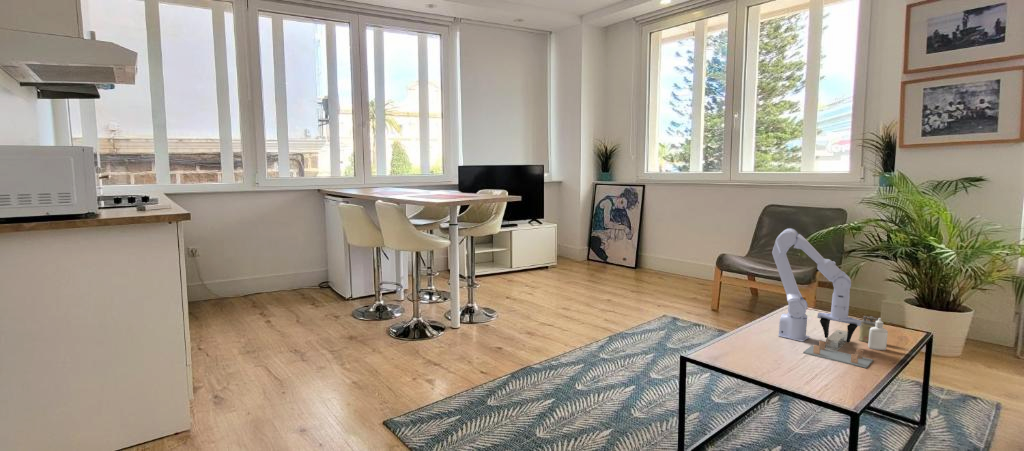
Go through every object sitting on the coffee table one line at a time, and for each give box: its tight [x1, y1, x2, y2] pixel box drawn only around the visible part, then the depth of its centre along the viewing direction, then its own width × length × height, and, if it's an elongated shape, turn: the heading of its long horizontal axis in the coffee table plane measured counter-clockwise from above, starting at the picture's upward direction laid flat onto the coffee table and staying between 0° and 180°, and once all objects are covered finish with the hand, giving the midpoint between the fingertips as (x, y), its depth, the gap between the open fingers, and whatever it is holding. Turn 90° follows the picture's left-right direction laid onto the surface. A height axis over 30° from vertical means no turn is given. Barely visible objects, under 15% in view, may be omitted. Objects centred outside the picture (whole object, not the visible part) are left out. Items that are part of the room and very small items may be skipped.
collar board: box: [802, 340, 874, 369], centre depth 194 cm, size 20×10×4 cm, turn 45°
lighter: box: [858, 315, 879, 343], centre depth 210 cm, size 7×4×10 cm, turn 48°
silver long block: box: [825, 329, 848, 352], centre depth 207 cm, size 16×4×4 cm, turn 136°
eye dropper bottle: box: [867, 317, 889, 351], centre depth 202 cm, size 4×6×12 cm
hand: (837, 339), depth 207 cm, fingers open, 7 cm apart
